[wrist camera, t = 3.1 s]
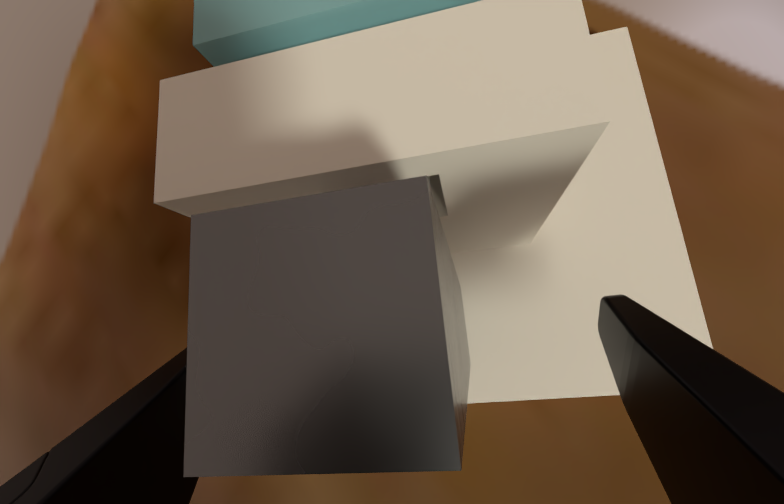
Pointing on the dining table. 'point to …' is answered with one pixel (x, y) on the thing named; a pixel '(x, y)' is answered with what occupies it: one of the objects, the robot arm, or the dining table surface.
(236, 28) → the spacer
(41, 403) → the dining table surface
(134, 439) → the robot arm
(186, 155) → the white mounting stand
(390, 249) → the grey block
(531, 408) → the dining table surface
